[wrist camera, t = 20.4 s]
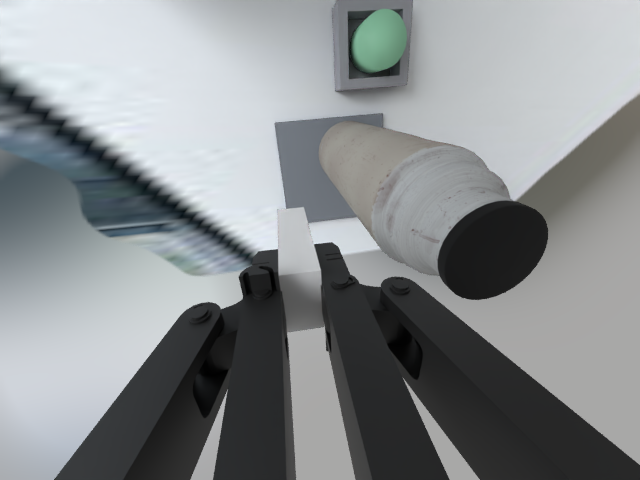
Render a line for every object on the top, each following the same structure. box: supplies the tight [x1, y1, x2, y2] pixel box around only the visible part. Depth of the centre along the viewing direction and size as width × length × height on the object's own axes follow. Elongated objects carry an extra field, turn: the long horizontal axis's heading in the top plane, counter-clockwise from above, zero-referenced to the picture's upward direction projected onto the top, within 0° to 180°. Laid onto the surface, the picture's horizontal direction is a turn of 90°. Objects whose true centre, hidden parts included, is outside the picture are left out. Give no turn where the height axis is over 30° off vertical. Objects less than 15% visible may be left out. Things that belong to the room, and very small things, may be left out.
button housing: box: [332, 0, 413, 91], centre depth 31 cm, size 8×8×3 cm
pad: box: [275, 113, 383, 223], centre depth 38 cm, size 14×14×1 cm
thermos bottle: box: [319, 121, 548, 300], centre depth 24 cm, size 8×8×28 cm
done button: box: [349, 9, 407, 73], centre depth 29 cm, size 5×5×4 cm
